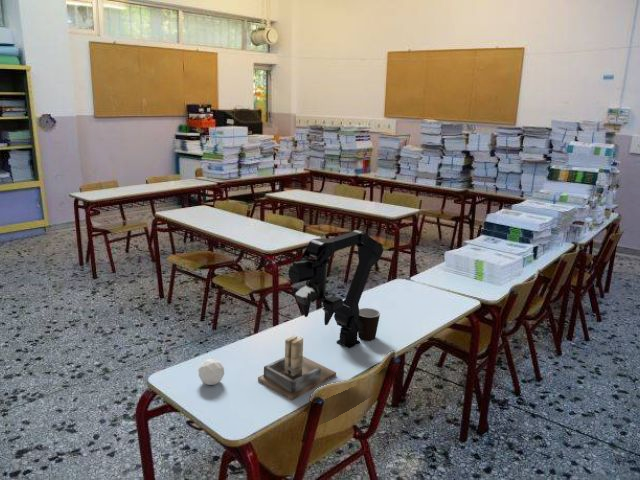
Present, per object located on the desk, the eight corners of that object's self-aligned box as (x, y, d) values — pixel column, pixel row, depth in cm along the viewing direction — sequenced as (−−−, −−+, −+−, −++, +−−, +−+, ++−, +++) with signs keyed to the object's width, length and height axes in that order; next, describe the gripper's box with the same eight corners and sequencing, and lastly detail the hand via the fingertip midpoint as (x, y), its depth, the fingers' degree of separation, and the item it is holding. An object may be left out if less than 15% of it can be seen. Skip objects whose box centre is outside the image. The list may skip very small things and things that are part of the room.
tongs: (293, 372, 163) (294, 334, 160) (302, 375, 161) (303, 338, 158) (284, 378, 159) (285, 340, 156) (293, 382, 157) (294, 343, 154)
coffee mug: (377, 343, 188) (378, 318, 185) (353, 340, 189) (355, 315, 187) (379, 330, 199) (381, 306, 196) (357, 327, 200) (359, 304, 198)
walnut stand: (302, 359, 174) (303, 346, 173) (336, 375, 164) (336, 362, 163) (257, 380, 160) (258, 367, 159) (291, 400, 150) (292, 385, 149)
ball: (210, 394, 156) (200, 383, 150) (200, 375, 161) (190, 364, 155) (232, 379, 158) (222, 368, 152) (221, 361, 163) (211, 349, 157)
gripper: (280, 275, 170) (279, 319, 174) (322, 290, 158) (320, 336, 162) (304, 268, 178) (302, 310, 182) (345, 282, 166) (342, 326, 170)
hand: (316, 320), depth 174 cm, fingers open, 9 cm apart
